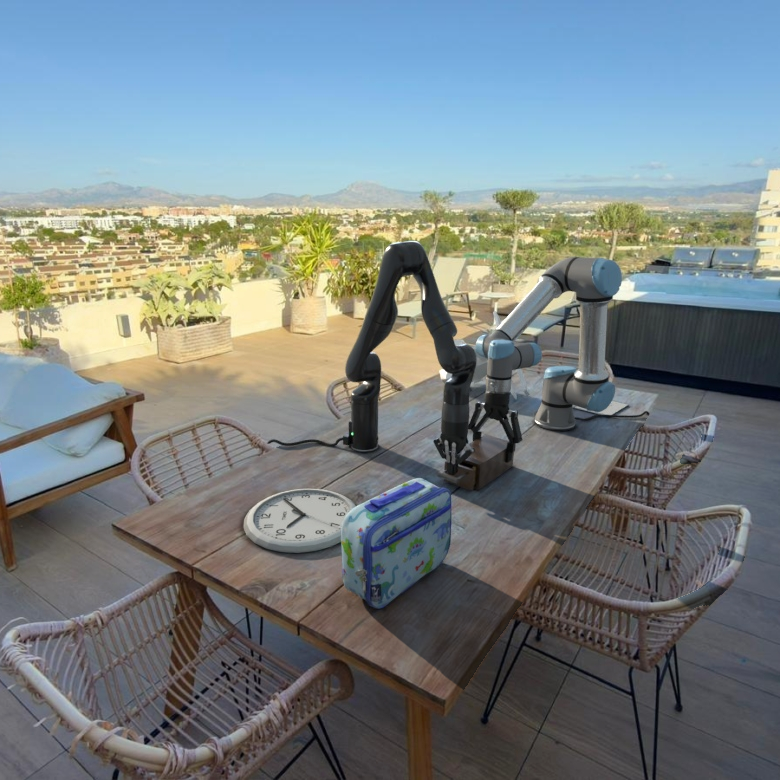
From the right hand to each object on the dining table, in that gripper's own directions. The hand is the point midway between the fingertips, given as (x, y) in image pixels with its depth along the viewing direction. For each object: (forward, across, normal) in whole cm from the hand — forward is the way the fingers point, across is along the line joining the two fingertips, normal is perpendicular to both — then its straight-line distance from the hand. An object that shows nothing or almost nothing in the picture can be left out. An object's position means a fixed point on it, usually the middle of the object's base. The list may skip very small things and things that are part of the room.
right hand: (492, 456), depth 167 cm
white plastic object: (+3, -43, +66) cm, 79 cm away
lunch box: (+3, +13, -64) cm, 66 cm away
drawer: (+2, 0, -13) cm, 14 cm away
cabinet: (+3, 0, -7) cm, 7 cm away
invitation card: (+3, +7, +84) cm, 84 cm away
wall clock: (+3, -21, -61) cm, 65 cm away
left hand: (-3, 0, -24) cm, 24 cm away
